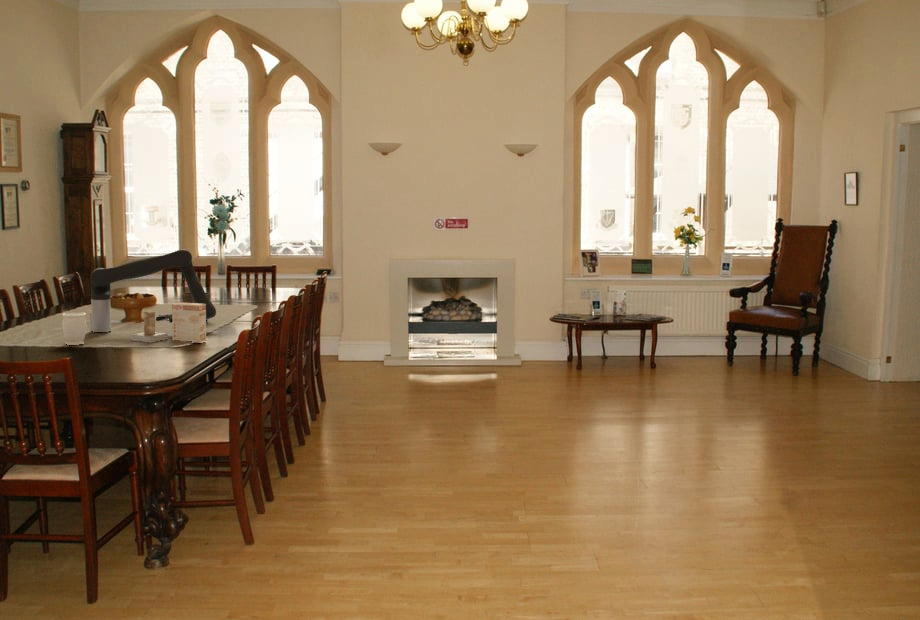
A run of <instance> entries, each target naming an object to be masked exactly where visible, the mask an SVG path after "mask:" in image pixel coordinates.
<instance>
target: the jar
mask: <svg viewBox="0 0 920 620" xmlns="http://www.w3.org/2000/svg"><path fill="white" fill-rule="evenodd" d="M61 316H62V323H61V324H62V327H61V328H62V332H63V333H62V334H63V337H64V339H65V344H67V345H66V346H69V345H77V346H80V345H79V344H83V345H85V342H84V340H85V337H86V332H87V320H86V316H87V312H81V311H76V312H75V311H73V312H71V311H70V312H64V313H62V314H61ZM65 344H64V345H65Z"/></svg>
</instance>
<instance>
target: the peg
mask: <svg viewBox="0 0 920 620" xmlns="http://www.w3.org/2000/svg"><path fill="white" fill-rule="evenodd" d="M143 326H144V328H143V330H144V331H143V332H144V334H146V335H153V334H155V332H156V312H155V311H154V310H153V311H152V310H148V311H144V312H143Z"/></svg>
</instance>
